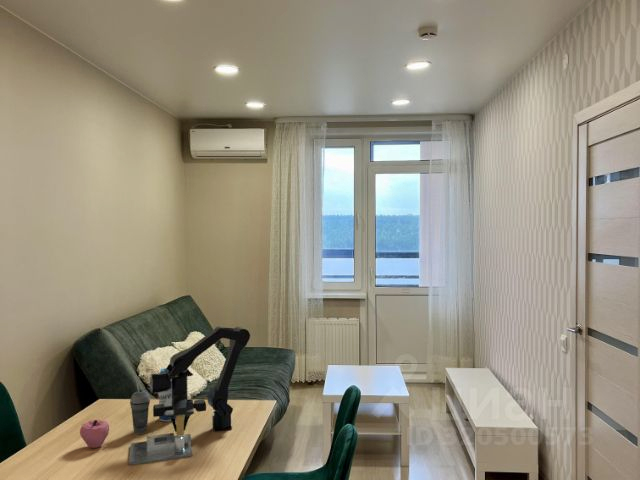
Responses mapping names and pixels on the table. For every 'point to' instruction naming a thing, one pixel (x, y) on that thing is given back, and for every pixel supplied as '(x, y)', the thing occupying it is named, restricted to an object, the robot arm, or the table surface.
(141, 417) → the beverage cup
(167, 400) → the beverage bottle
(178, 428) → the pale yellow rectangular prism
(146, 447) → the gray tray
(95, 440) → the apple
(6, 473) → the table surface
